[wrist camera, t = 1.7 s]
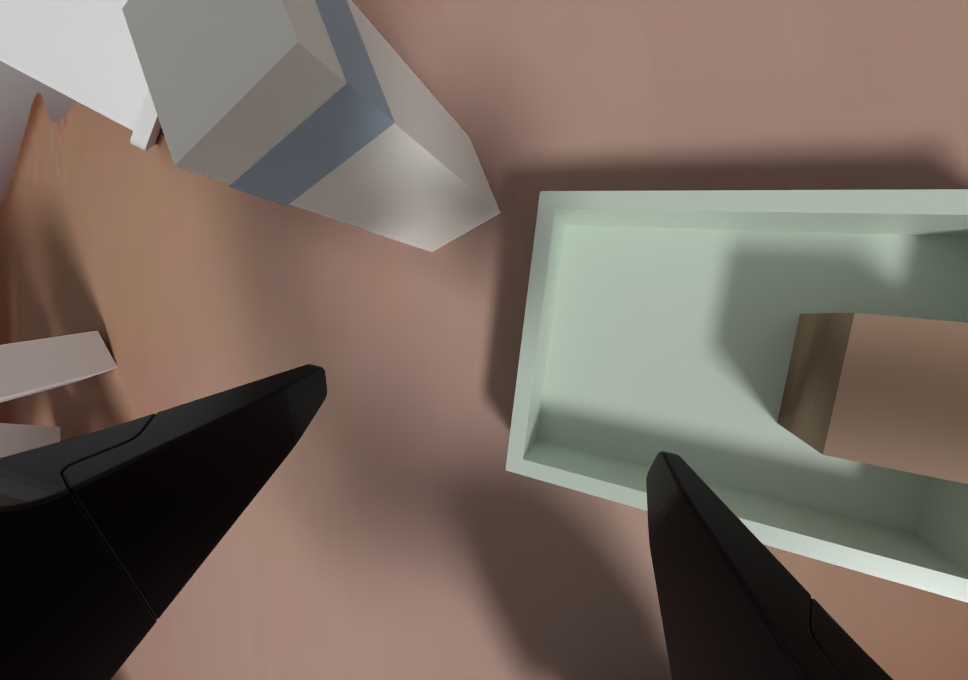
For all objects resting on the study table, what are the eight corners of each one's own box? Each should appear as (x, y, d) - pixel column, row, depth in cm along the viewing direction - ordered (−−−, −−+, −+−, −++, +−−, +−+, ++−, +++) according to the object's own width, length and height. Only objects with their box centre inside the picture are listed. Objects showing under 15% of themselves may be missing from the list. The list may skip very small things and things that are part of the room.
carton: (501, 213, 21) (300, 42, 8) (431, 253, 23) (173, 168, 10) (470, 136, 21) (228, -147, 8) (403, 181, 23) (120, 8, 10)
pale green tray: (926, 550, 15) (1010, 615, 12) (523, 446, 21) (505, 470, 18) (1014, 219, 14) (1138, 188, 10) (553, 211, 20) (540, 191, 16)
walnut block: (910, 447, 15) (1008, 492, 11) (777, 423, 16) (823, 455, 12) (940, 326, 14) (1054, 330, 10) (799, 313, 16) (854, 312, 12)
